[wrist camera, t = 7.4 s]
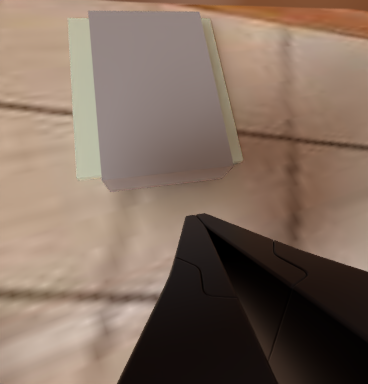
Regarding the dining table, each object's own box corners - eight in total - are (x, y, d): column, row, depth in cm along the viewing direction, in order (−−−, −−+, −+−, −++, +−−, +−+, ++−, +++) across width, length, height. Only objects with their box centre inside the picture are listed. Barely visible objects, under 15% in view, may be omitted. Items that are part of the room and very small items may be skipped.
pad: (241, 162, 21) (243, 160, 20) (79, 180, 18) (76, 178, 18) (208, 23, 24) (209, 18, 24) (69, 24, 22) (67, 18, 21)
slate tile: (233, 165, 16) (199, 11, 19) (101, 180, 15) (88, 10, 18) (220, 180, 19) (192, 46, 22) (111, 193, 18) (98, 48, 21)
